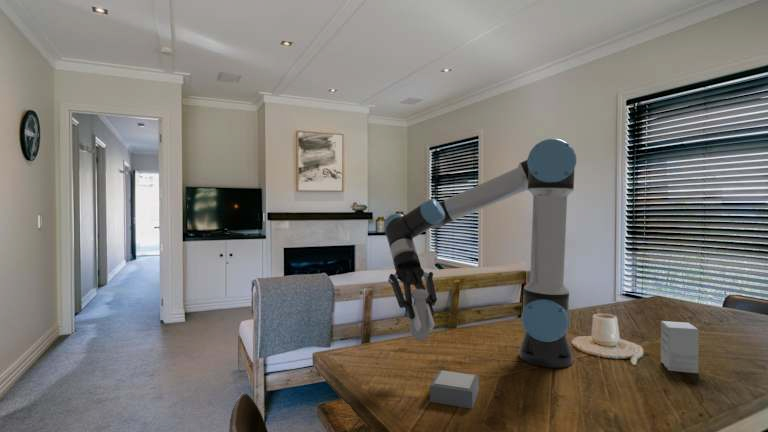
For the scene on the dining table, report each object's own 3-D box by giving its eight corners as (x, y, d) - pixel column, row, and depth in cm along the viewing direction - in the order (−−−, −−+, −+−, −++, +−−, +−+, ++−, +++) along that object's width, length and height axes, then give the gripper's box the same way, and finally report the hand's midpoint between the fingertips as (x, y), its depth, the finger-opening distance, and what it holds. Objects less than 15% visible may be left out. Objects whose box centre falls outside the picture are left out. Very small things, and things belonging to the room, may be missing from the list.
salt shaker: (429, 341, 109) (429, 292, 109) (408, 340, 110) (407, 291, 110) (432, 334, 114) (431, 288, 114) (411, 333, 116) (411, 287, 115)
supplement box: (689, 364, 122) (689, 322, 122) (698, 374, 115) (699, 329, 115) (660, 361, 125) (660, 320, 125) (667, 371, 118) (668, 326, 118)
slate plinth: (478, 391, 105) (478, 374, 105) (472, 408, 96) (472, 390, 96) (439, 385, 109) (439, 368, 109) (430, 401, 99) (430, 384, 99)
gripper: (427, 264, 129) (449, 332, 113) (377, 266, 125) (393, 338, 109) (433, 248, 124) (458, 318, 108) (381, 250, 119) (399, 323, 104)
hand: (425, 328), depth 108 cm, fingers closed on salt shaker, 3 cm apart
